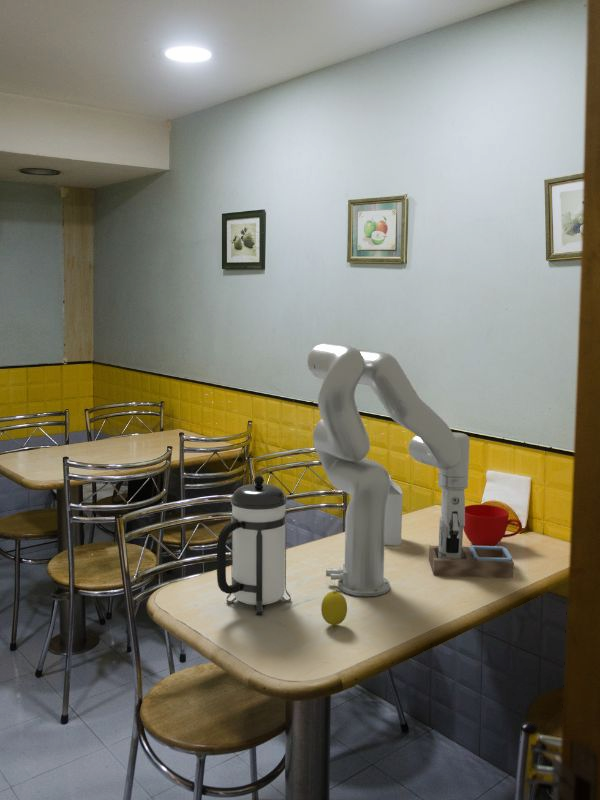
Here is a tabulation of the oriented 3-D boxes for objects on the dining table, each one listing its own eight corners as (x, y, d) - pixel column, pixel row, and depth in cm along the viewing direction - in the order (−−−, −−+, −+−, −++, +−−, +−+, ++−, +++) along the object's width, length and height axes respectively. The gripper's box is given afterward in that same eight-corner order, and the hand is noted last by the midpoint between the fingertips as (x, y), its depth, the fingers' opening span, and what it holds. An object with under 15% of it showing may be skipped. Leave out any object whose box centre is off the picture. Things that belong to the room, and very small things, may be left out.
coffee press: (225, 588, 178) (224, 467, 174) (291, 589, 178) (292, 468, 174) (216, 620, 161) (215, 486, 156) (290, 621, 161) (291, 487, 156)
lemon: (319, 620, 161) (320, 586, 160) (345, 620, 161) (345, 585, 160) (322, 632, 156) (322, 596, 154) (348, 631, 156) (349, 595, 155)
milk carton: (400, 538, 216) (402, 475, 213) (401, 546, 209) (403, 481, 206) (375, 537, 217) (377, 474, 214) (375, 545, 210) (377, 480, 207)
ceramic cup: (514, 558, 201) (516, 522, 199) (454, 547, 209) (455, 512, 208) (526, 544, 212) (527, 510, 210) (468, 534, 220) (469, 502, 219)
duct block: (433, 575, 188) (434, 558, 187) (428, 559, 199) (429, 543, 198) (513, 577, 187) (514, 560, 186) (503, 562, 197) (504, 545, 197)
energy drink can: (435, 563, 196) (437, 509, 193) (457, 563, 196) (460, 509, 194) (441, 572, 190) (443, 516, 188) (464, 572, 190) (466, 515, 188)
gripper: (473, 490, 181) (470, 560, 183) (462, 473, 198) (459, 537, 200) (442, 489, 181) (440, 559, 184) (434, 472, 198) (431, 536, 201)
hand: (450, 547), depth 192 cm, fingers closed on energy drink can, 6 cm apart
